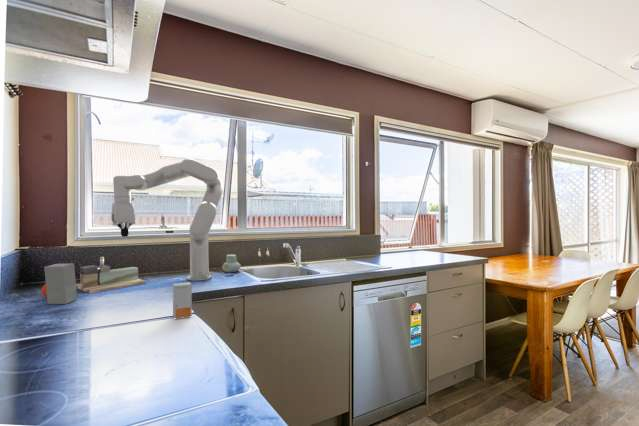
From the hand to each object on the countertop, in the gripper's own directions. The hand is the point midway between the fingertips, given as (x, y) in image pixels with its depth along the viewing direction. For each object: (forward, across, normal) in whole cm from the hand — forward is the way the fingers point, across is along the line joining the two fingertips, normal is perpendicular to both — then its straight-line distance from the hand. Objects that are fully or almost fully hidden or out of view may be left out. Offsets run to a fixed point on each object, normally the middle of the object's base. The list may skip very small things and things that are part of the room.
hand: (124, 236), depth 179 cm
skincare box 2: (+25, +13, +72) cm, 78 cm away
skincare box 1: (+24, +33, +15) cm, 43 cm away
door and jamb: (+24, +7, -1) cm, 25 cm away
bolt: (+16, +14, -1) cm, 21 cm away
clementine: (+24, +33, +3) cm, 40 cm away
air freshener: (+26, -53, +17) cm, 61 cm away
